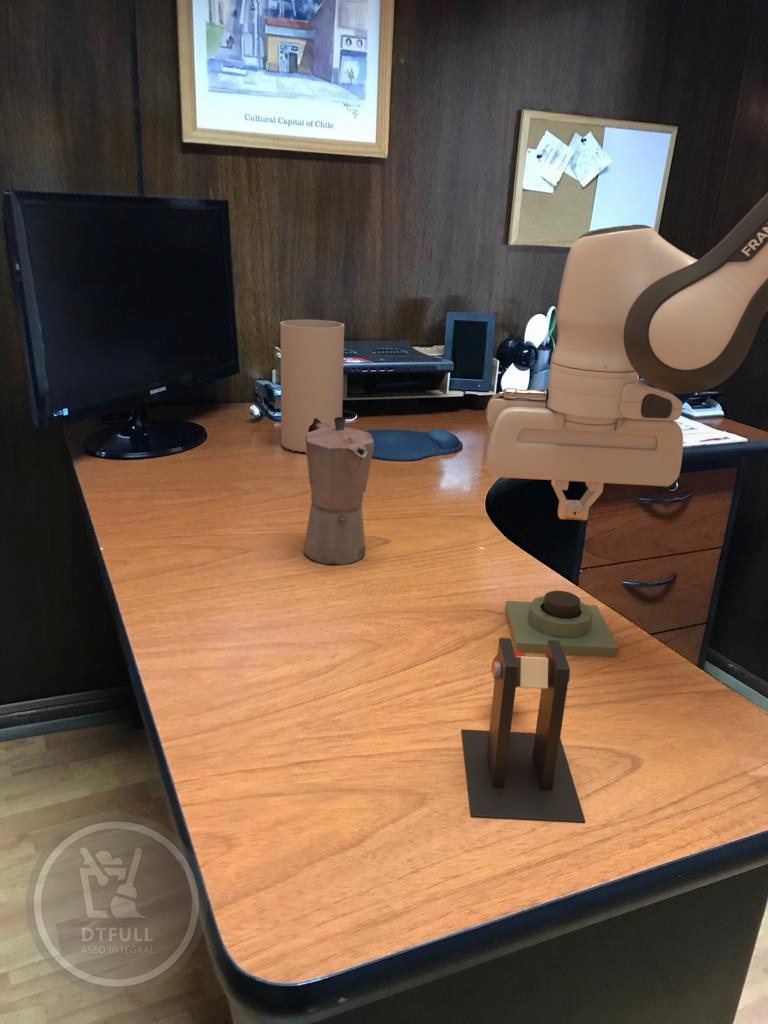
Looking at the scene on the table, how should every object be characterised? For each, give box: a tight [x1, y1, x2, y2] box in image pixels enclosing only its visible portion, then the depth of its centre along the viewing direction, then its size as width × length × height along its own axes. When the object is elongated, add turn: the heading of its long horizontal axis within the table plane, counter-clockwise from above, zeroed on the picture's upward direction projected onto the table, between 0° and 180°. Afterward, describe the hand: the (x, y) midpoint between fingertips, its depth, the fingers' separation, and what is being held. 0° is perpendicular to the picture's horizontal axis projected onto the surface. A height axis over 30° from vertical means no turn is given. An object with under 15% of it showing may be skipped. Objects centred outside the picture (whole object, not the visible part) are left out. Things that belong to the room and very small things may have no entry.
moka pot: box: [303, 416, 375, 566], centre depth 107 cm, size 10×15×20 cm, turn 36°
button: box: [543, 590, 581, 619], centre depth 88 cm, size 4×4×2 cm
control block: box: [504, 595, 619, 658], centre depth 89 cm, size 11×10×4 cm
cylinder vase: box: [280, 319, 345, 453], centre depth 156 cm, size 12×12×25 cm
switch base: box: [460, 637, 586, 824], centre depth 64 cm, size 11×9×13 cm
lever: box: [491, 648, 548, 690], centre depth 67 cm, size 13×4×4 cm
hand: (572, 518), depth 84 cm, fingers closed
